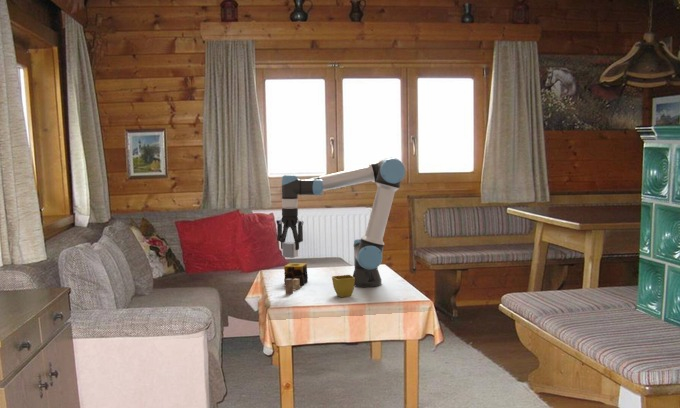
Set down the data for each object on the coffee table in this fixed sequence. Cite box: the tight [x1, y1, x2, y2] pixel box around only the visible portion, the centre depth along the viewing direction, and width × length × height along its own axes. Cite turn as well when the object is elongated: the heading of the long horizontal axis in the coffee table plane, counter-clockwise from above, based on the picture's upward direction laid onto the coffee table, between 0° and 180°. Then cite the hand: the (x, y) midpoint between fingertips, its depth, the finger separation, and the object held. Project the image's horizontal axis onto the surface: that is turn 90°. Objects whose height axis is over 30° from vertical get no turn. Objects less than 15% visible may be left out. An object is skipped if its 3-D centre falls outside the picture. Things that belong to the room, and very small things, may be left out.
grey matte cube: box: [282, 241, 295, 259], centre depth 303 cm, size 5×5×7 cm
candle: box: [283, 262, 309, 287], centre depth 327 cm, size 10×10×10 cm
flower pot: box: [331, 274, 355, 298], centre depth 295 cm, size 9×9×9 cm
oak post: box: [293, 279, 301, 291], centre depth 313 cm, size 3×3×5 cm
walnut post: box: [284, 279, 294, 295], centre depth 303 cm, size 3×3×7 cm
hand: (290, 256), depth 303 cm, fingers closed on grey matte cube, 5 cm apart
